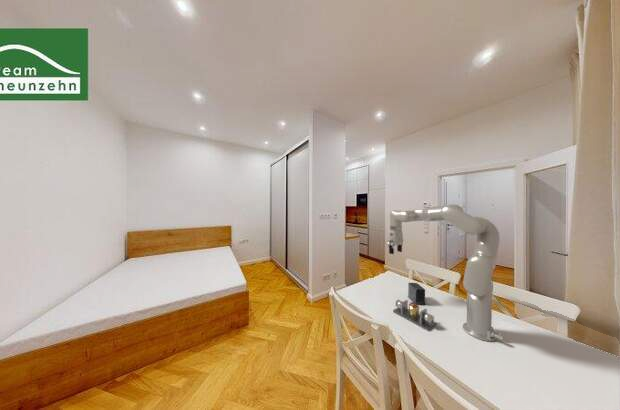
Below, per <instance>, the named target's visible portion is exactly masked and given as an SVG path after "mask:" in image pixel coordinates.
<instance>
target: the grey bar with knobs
mask: <svg viewBox="0 0 620 410" xmlns="http://www.w3.org/2000/svg"><path fill="white" fill-rule="evenodd" d="M408 302H409V301H408V299H406V300H400V299H397V300H395V307H396V308H394V309H393V310H392V313H393V314H395V315H397V316H400V317H402V318H403V319H405V320H407V321H409V322H411V323H413V324H415V325H416V326H418V327H420V328H421V329H424V330H426V331H427V332H429V331H430V330H431V329H433V328H434V327H435V326H437V322H436V321H435V316H434V315H432V314H430V313H428V309H427V308H423V310H421V311H419V318H418V319H414V318H411V317H410V316H409V303H408Z"/></svg>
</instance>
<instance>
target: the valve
mask: <svg viewBox="0 0 620 410" xmlns="http://www.w3.org/2000/svg"><path fill="white" fill-rule="evenodd" d="M408 309H409V316H410V317H411V318H414V319H418V318H419V315H420V305H418V304H417V303H414V302H413V301H411V302H410V303H408Z"/></svg>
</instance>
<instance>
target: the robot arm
mask: <svg viewBox="0 0 620 410" xmlns="http://www.w3.org/2000/svg"><path fill="white" fill-rule="evenodd" d="M421 221H427V222H440V221H446V222H448V223H449V224H451V225H453V226H454V227H456V228H458V229H459V230H460V231H462V232H463V233H465V234H467V235H470V236H476V239H475V245H474V250H473V252H472V255H471V256H470V257H468V259H467V261H466V265H465V269H464V276H463V280H462V284H463V285H462V286H463V288H464V289H465V291H466V292H467V293H466V322H465V323H463V324H462V329H463V331H464V332H466V333H467V334H468V335H470V336H472V337H473V338H475V339H478V340H481V341H486V342H494V341H496V339H498V340H499V341H501V342H504V336H503V335H502V333H500V332H497V331H495V330H494V327H493V326H492V323H493V322H492V319H493V318H492V316H493V315H492V314H493V313H492V312H493V311H492V310H493V293H494V281H493V279H492V276H493V272H494V269H495V268H496V266H497V258H498V252H499V245H500V240H501V239H500V232H499V230H498V228H497V226H496V225H495V224H494V223H492V222H491V221H490V220H488V219H487V218H484V217H481V216H480V217H479V216H473V215H471V214H470V213H467V212H466V211H464V208H463V207H462V206H460V205H458V204H447V205H440V206H431V207H426V208H422V209H414V210H413V209H412V210H403V211H401V210H391V211H390V212H389V234H388V235H389V236H388V241H386V242H387V246H388V253H389V254H390V255H394V254H395V248H394V247H395V246H397V247H396V250H397V252H398V253H402V252H403V244H404V235H403V228H402V227H403V224H402V223H411V222H421Z"/></svg>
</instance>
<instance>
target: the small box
mask: <svg viewBox="0 0 620 410" xmlns="http://www.w3.org/2000/svg"><path fill="white" fill-rule="evenodd" d="M407 285H408V286H407V287H408V289H407V291H408V293H407V297H408V299H409V300H410V301H411V302H414V303H417V304H418V306H425V305H426V289H425V288H424V287H423V286H421V285H420V284H419V283H417V282H408V283H407Z"/></svg>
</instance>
